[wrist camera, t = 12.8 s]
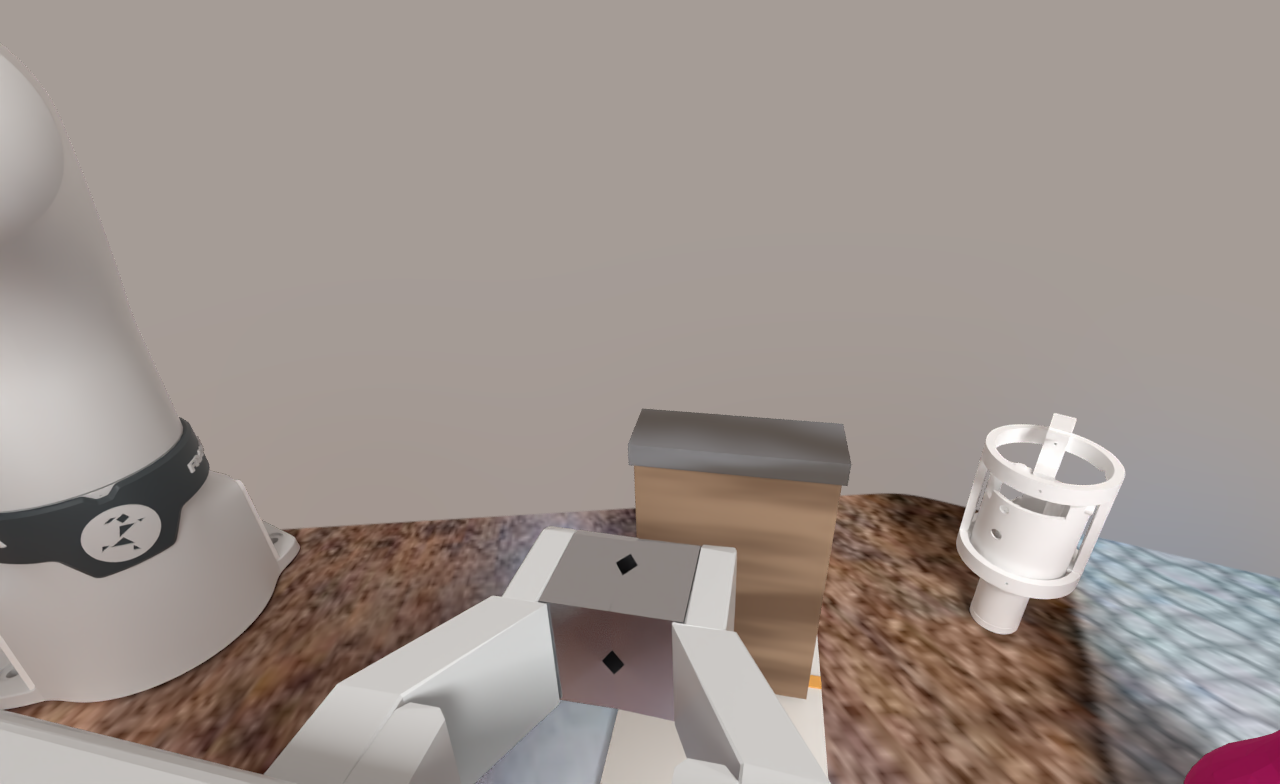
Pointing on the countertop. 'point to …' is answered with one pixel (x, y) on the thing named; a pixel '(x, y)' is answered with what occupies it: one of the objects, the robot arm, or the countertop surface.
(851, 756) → the countertop surface
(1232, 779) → the pepper mill
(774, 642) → the block
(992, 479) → the white cylindrical cage holder
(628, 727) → the slide board
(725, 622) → the robot arm
